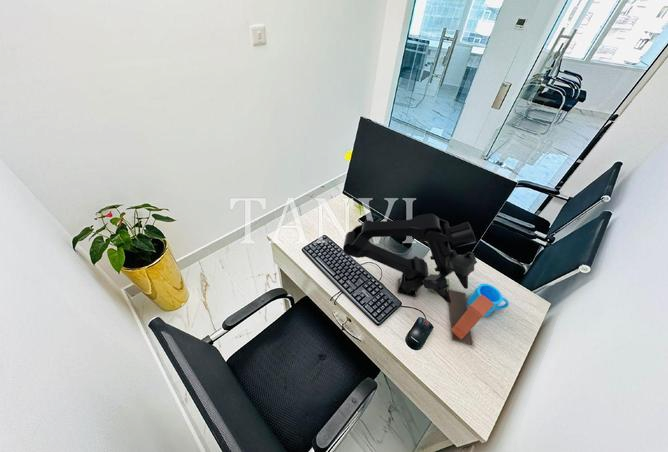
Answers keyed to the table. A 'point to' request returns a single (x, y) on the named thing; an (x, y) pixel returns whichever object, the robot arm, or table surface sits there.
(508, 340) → the table surface
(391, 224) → the robot arm
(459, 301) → the board
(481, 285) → the mug
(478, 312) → the letter I
